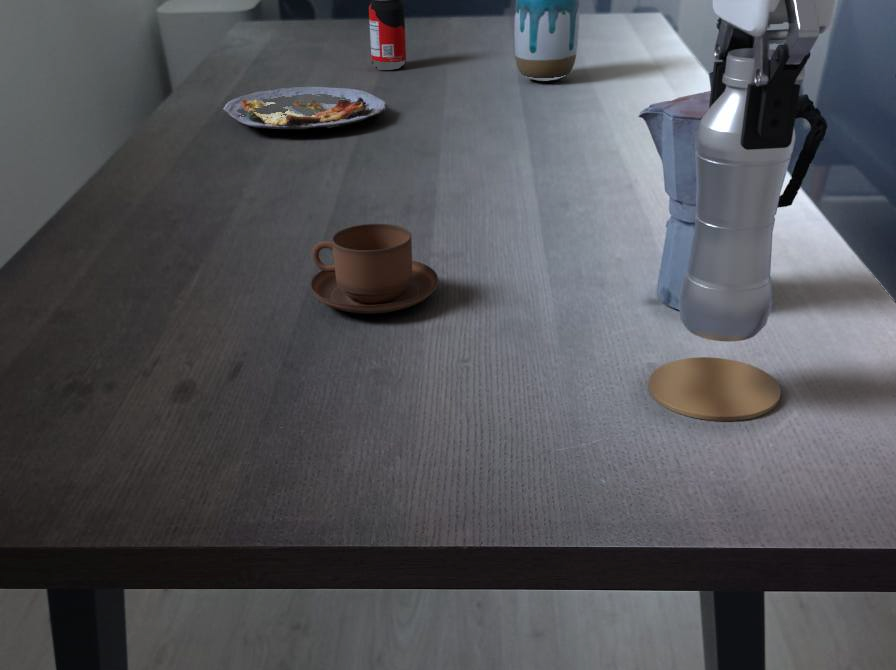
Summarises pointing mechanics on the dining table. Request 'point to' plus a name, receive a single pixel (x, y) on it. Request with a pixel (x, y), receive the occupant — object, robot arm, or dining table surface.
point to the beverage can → (387, 30)
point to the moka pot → (677, 150)
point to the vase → (546, 37)
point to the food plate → (329, 118)
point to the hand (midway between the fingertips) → (747, 131)
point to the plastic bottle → (732, 218)
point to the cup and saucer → (372, 271)
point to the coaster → (714, 389)
